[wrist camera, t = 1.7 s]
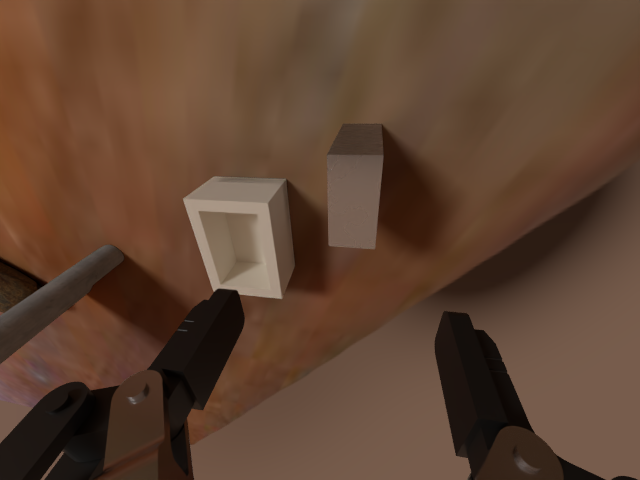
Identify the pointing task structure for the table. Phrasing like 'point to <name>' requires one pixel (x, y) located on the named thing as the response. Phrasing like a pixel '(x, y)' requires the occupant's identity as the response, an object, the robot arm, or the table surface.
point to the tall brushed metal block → (354, 185)
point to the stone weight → (14, 287)
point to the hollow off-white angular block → (244, 234)
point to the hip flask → (54, 299)
